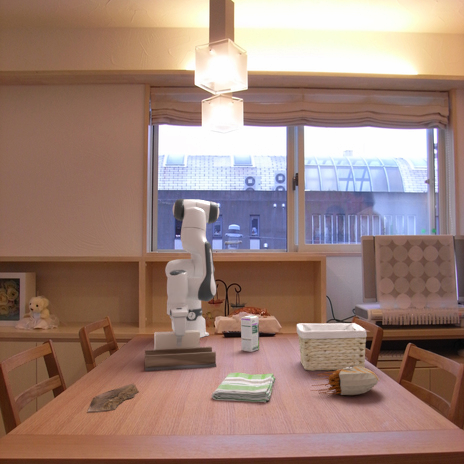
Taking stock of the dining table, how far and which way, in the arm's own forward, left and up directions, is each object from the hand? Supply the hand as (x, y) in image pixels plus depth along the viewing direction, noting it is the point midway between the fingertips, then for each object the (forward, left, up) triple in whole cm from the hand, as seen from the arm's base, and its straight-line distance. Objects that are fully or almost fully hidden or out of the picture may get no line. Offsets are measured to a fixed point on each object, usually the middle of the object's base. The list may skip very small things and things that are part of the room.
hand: (177, 343), depth 177 cm
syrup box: (-4, +32, -5) cm, 32 cm away
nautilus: (+56, +46, -6) cm, 73 cm away
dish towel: (+46, +17, -6) cm, 49 cm away
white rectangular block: (0, 0, -5) cm, 5 cm away
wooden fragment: (+45, -22, -6) cm, 50 cm away
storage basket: (+27, +55, -6) cm, 61 cm away
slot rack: (+13, 0, -5) cm, 14 cm away
